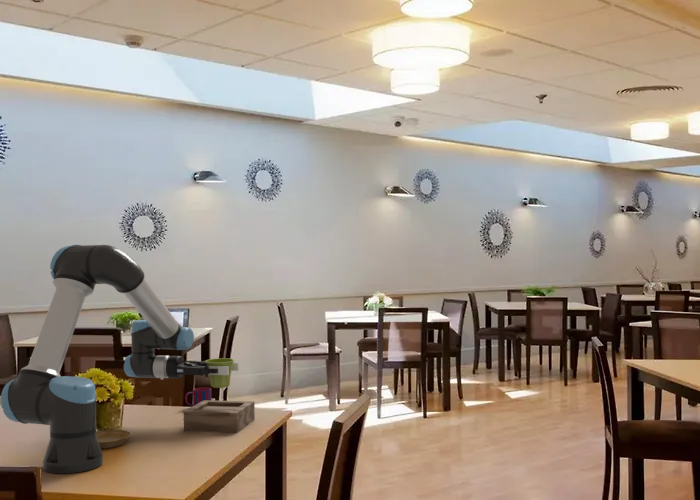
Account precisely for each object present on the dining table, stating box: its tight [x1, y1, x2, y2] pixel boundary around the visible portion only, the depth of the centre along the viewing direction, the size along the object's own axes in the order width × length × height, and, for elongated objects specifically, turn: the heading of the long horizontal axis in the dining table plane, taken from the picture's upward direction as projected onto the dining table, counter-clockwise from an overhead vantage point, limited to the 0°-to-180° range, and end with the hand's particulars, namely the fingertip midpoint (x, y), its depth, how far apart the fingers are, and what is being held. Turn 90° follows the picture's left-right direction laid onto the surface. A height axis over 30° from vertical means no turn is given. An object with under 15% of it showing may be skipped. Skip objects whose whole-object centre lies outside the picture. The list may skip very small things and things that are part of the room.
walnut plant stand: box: [183, 399, 256, 433], centre depth 245 cm, size 18×18×6 cm
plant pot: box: [204, 357, 235, 389], centre depth 245 cm, size 9×9×9 cm
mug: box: [184, 387, 212, 407], centre depth 272 cm, size 7×10×7 cm
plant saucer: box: [96, 429, 132, 449], centre depth 222 cm, size 15×15×3 cm
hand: (233, 368), depth 244 cm, fingers closed on plant pot, 8 cm apart
